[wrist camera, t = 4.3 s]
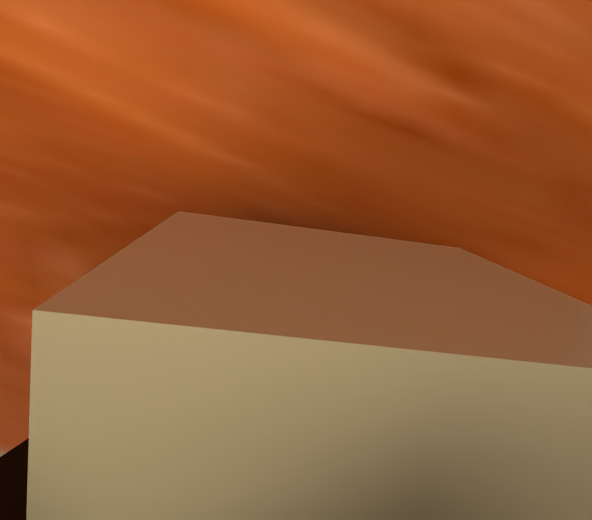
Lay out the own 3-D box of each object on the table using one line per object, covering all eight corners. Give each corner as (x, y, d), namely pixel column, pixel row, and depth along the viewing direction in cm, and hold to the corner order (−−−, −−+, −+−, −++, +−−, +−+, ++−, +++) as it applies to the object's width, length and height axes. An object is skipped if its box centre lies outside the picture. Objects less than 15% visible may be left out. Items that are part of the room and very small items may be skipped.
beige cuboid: (399, 529, 11) (563, 955, 5) (150, 514, 11) (11, 983, 5) (460, 247, 10) (778, 387, 4) (178, 211, 9) (31, 310, 3)
